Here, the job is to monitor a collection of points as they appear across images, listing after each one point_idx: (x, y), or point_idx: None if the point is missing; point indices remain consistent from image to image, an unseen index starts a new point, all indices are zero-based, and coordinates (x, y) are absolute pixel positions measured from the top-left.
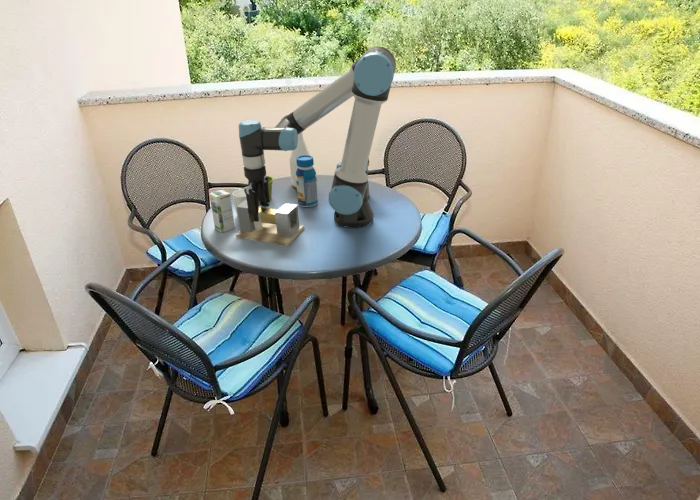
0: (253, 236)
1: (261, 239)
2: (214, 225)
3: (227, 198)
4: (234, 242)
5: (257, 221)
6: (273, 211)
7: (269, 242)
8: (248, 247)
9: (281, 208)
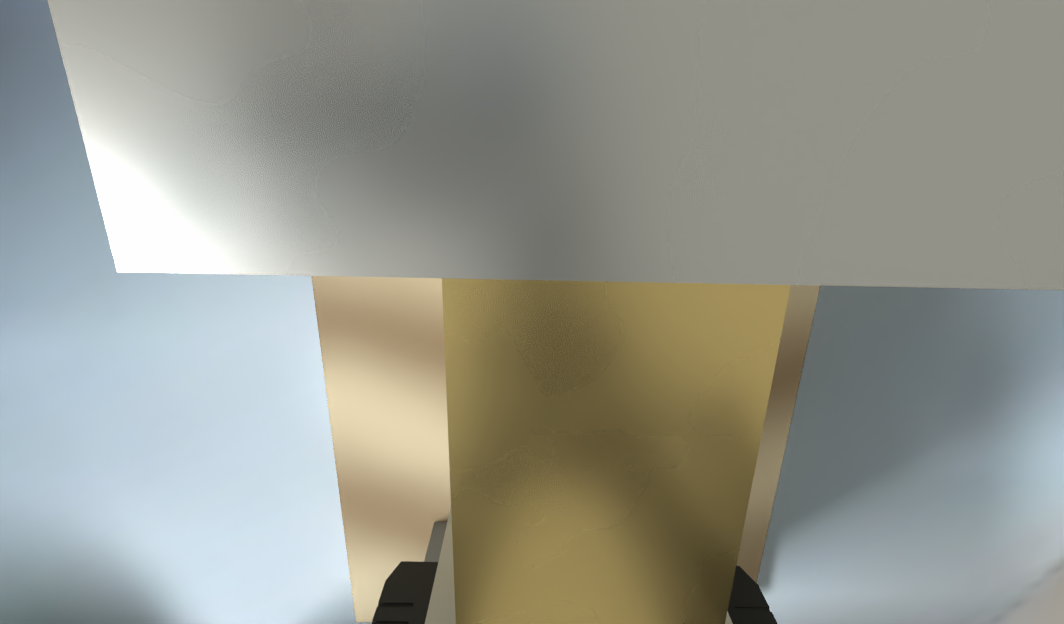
0: (765, 462)
1: (796, 354)
2: None
3: None
4: (836, 571)
5: (741, 568)
6: (589, 459)
7: None
8: (931, 413)
9: (746, 169)
